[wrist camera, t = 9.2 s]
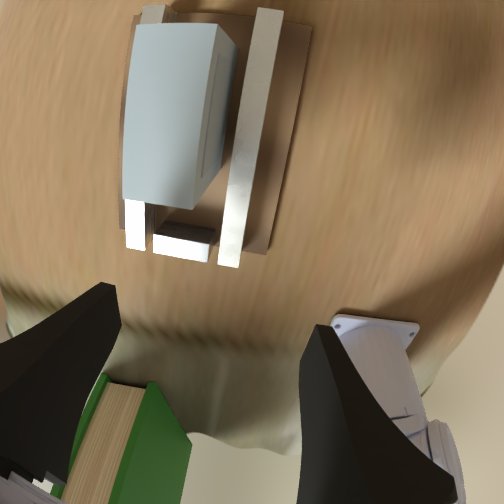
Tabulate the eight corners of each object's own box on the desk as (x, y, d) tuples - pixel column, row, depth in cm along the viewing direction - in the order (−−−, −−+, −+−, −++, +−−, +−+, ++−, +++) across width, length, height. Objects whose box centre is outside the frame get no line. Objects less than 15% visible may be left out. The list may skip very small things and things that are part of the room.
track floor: (266, 251, 19) (266, 255, 19) (122, 225, 19) (119, 228, 19) (311, 28, 12) (312, 26, 12) (137, 16, 12) (133, 15, 12)
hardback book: (101, 373, 29) (34, 544, 9) (156, 382, 29) (98, 580, 8) (148, 437, 38) (115, 561, 18) (192, 444, 37) (165, 577, 17)
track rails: (241, 250, 19) (237, 268, 17) (139, 232, 19) (127, 246, 17) (283, 20, 12) (284, 11, 10) (158, 13, 12) (143, 5, 10)
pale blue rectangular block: (221, 169, 16) (193, 209, 11) (169, 162, 16) (121, 199, 11) (240, 48, 13) (218, 24, 7) (183, 45, 13) (135, 24, 7)
